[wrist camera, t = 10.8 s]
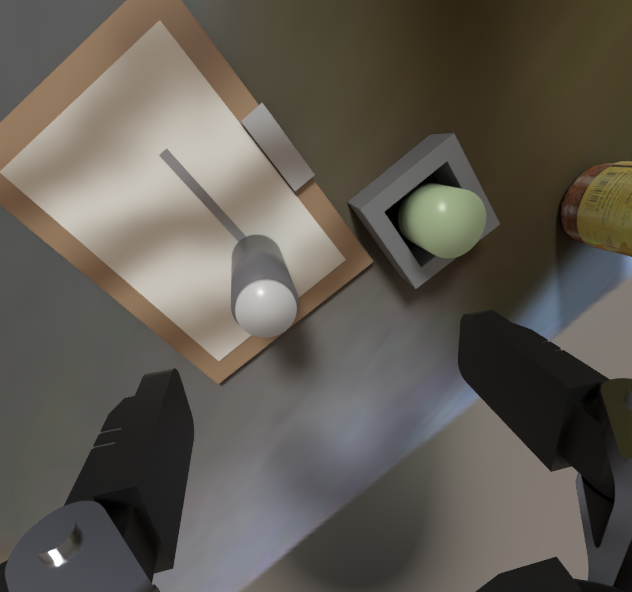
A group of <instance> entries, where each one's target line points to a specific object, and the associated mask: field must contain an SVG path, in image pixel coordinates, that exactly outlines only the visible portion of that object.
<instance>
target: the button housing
mask: <svg viewBox="0 0 632 592" xmlns="http://www.w3.org/2000/svg"><path fill="white" fill-rule="evenodd" d="M432 173H433V175H434V177H435V178H436V180H437V182H438V184H440V185H445V186H450V187H455V188H460V189H465V190H469V191H471V192H473V193H475V194H476V195H477V196H478V197H479V198H480V199H481V200H482V202H483V204H484V206H485V210H486V224H485V228H484V231H483V234H482V236H481V237H480V239H482V238H483V237H484V236H486V235H487V234H488V233H490V232H491V231H492V230H493V229H495V228H496V227H497V226H499V225H500V223H499V221H498V219H497V217H496V215H495V213H494V211H493V209H492V207H491V205H490V203H489V201H488V199H487V197H486V195H485V193H484V191H483V189H482V187H481V185H480V183H479V181H478V179H477V177H476V175H475V173H474V171H473V169H472V167H471V165H470V163H469V161H468V159H467V157H466V155H465V154H464V152H463V150H462V148H461V146H460V144H459V142H458V140H457V138H456V136H455V134H454V133H446V134H430V135H429V136H428V137H426V138H425V139H424V140H423V141H421V142H420V143H419V144H418V145H417V146H415V147H414V148H413V149H412V150H410V151H409V152H408V153H407V154H406V155H404V156H403V157H402V158H401V159H400V160H398V161H397V162H396V163H395V164H393V165H392V166H391V167H390V168H389V169H387V170H386V171H385V172H384V173H382V174H381V175H380V176H379V177H378V178H376V179H375V180H374V181H373V182H371V183H370V184H369V185H368V186H367V187H365V188H364V189H363V190H362V191H360V192H359V193H358V194H357V195H356V196H354V197H353V198H352V199H351V200H349V201H348V204H349V205H350V207H351V208H352V209H353V211H354V212H355V214H356V215H357V216H358V218H359V219H360V221H361V222H362V224H363V225H364V226H365V228H366V229H367V231H368V232H369V233H370V235H371V236H372V238H373V239H374V240H375V242H376V243H377V245H378V246H379V247H380V249H381V250H382V252H383V253H384V255H385V256H386V257H387V259H388V260H389V262H390V263H391V264H392V266H393V267H394V269H395V270H396V271H397V273H398V274H399V275H400V276H401V277H402V278H403V279H405V280H406V281H407V282H408V283H409V284H411V285H412V286H413V287H414V288H415V289H417V288H418V287H419V286H421V285H422V284H423V283H425V282H426V281H427V280H428V279H430V278H431V277H432V276H434V275H435V274H436V273H438V272H439V271H440V270H441V269H443V268H444V267H445V266H447V265H448V264H449V263H451V262H452V261H453V260H454V259H456V258H457V257H455V258H441V257H438V256H436V255H434V254H432V253H430V252H429V251H427V250H425V249H423V248H422V247H420V246H418V245H416V246H414V247H413V248H412V249H411V250H409V249H408V247H407V246H406V244H405V243H404V241H403V240H402V238H401V237H400V235H399V234H398V232H397V231H396V229H395V228H394V226H393V224H392V223H391V221H390V220H389V218H388V217H387V215H386V214H385V211H386V210H387V209H388V208H389V207H391V206H392V205H393V204H394V203H396V202H397V201H398V200H399V199H401V198H402V197H403V196H404V195H406V194H407V193H408V192H409V191H411V190H412V189H413V188H414V187H416V186H417V185H418V184H419V183H421V182H422V181H423V180H424V179H426V178H427V177H428V176H429V175H430V174H432ZM480 239H479V240H480Z"/></svg>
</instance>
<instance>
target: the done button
mask: <svg viewBox="0 0 632 592" xmlns="http://www.w3.org/2000/svg"><path fill="white" fill-rule="evenodd" d="M398 224H399V228H400V230H401V232H402V234H403V235H404V236H405V237H406V238H407V239H408V240H409V241H411V242H413V243H415V244H416V245H418V246H420V247H422V248H423V249H425V250H427V251H429V252H430V253H432V254H434V255H436V256H438V257H441V258H455V257H458V256H461V255H463V254H465V253H466V252H468V251H469V250H470V249H472V248H473V247H474V246H475V245H476V243H477V242H478V241H479V239H480V237H481V236H482V234H483V231H484V228H485V224H486V210H485V206H484V204H483V202H482V200H481V199H480V198H479V197H478V196H477V195H476V194H475V193H473V192H471V191H469V190H465V189H460V188H455V187H450V186H445V185H440V184H435V183H426V184H422V185H419V186H417V187H415V188H414V189H412V190H411V191H410V192H409V193H408V194H407V195H406V196H405V198H404V199H403V201H402V203H401V205H400V208H399V212H398Z"/></svg>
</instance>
